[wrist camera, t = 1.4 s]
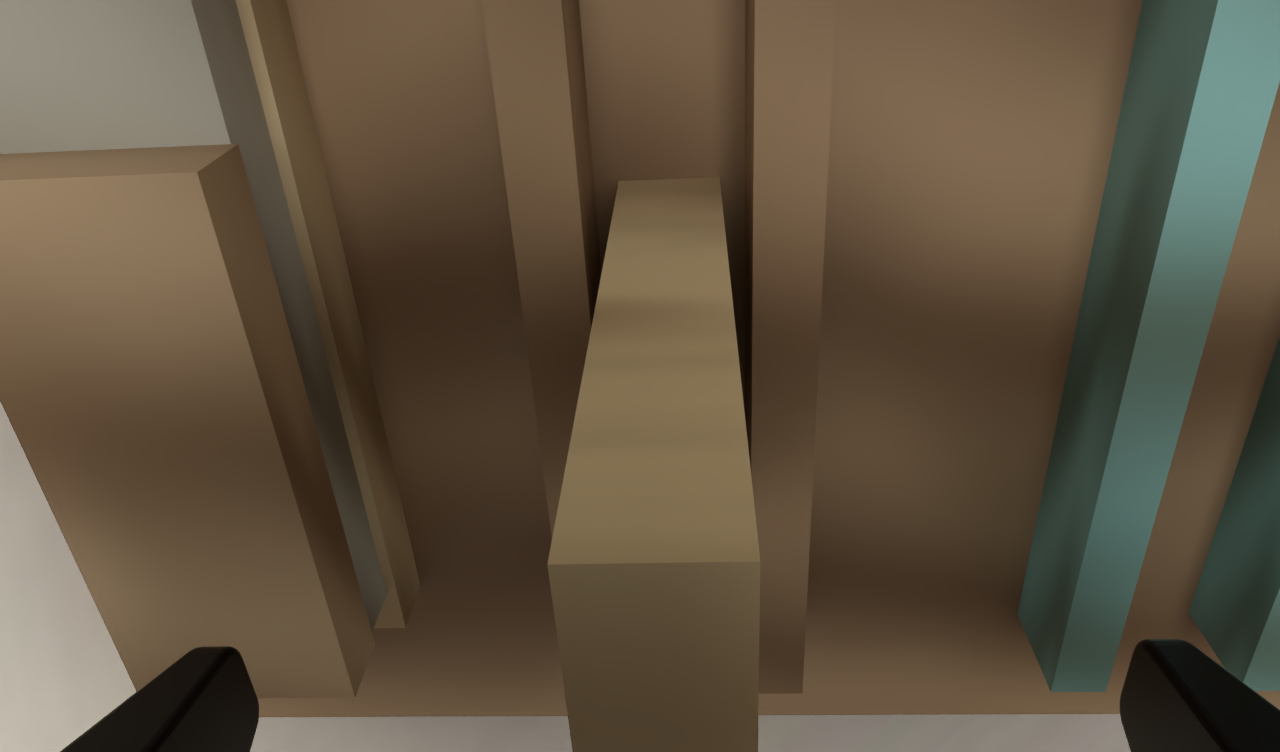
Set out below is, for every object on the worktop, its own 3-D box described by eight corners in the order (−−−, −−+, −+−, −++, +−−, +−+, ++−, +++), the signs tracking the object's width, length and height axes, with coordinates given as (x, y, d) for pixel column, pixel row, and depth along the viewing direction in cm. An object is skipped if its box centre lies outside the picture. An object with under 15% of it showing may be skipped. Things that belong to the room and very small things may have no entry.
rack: (1263, 677, 21) (1344, 795, 18) (236, 683, 23) (178, 793, 20) (1739, -504, 11) (2064, -608, 8) (-168, -353, 13) (-390, -402, 10)
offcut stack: (420, 585, 19) (370, 729, 16) (234, 587, 20) (149, 730, 16) (276, -43, 13) (152, -5, 10) (10, -28, 14) (-191, 13, 10)
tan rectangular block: (722, 439, 17) (755, 937, 9) (636, 440, 17) (598, 936, 10) (719, 177, 15) (759, 561, 7) (618, 180, 15) (547, 563, 7)
